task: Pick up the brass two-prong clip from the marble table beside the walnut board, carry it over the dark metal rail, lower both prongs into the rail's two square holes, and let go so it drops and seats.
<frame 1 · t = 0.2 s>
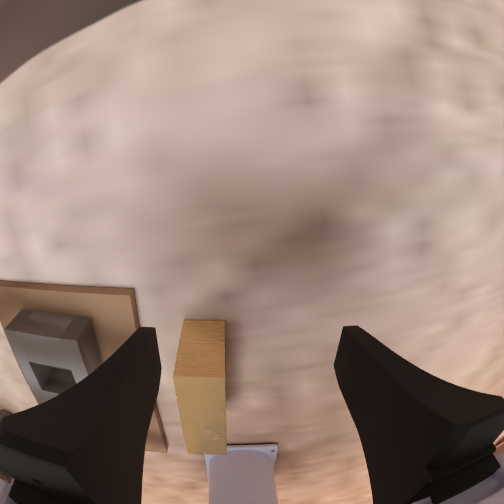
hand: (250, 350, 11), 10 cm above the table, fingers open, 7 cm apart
beverage cup: (13, 420, 27), on the table
rail board: (82, 379, 24), on the table
brass clip: (206, 365, 24), on the table
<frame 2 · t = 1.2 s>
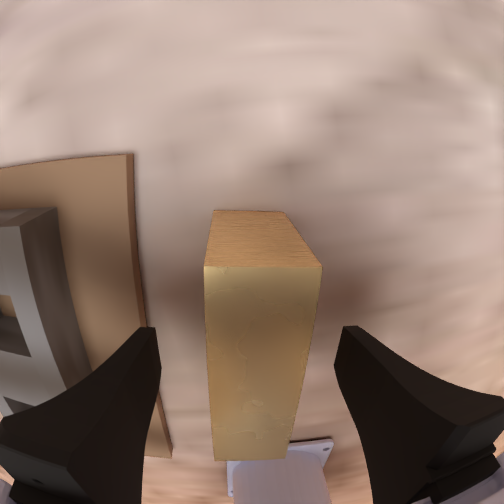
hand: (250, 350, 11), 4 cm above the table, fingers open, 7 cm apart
rail board: (44, 337, 15), on the table
brass clip: (245, 303, 15), on the table
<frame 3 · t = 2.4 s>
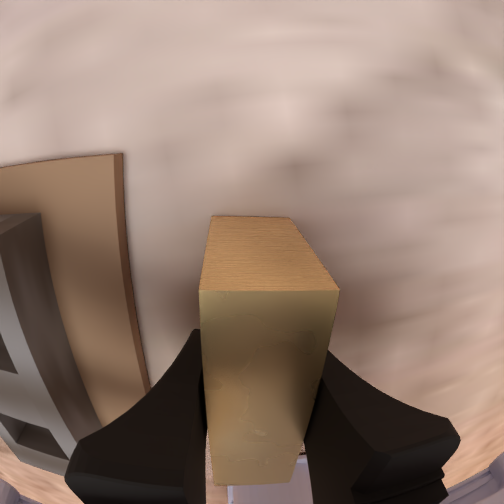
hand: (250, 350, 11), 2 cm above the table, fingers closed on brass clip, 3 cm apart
rail board: (34, 348, 14), on the table
brass clip: (246, 316, 14), on the table, touching gripper
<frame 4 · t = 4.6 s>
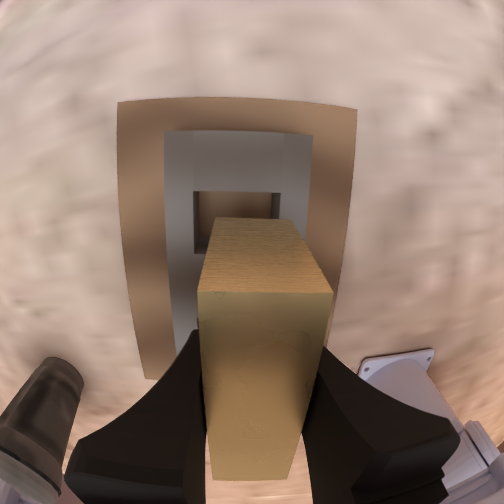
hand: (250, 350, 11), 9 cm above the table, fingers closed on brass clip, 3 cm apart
beverage cup: (63, 374, 23), on the table
rail board: (233, 259, 20), on the table
brass clip: (248, 315, 14), point 7 cm above the table, touching gripper
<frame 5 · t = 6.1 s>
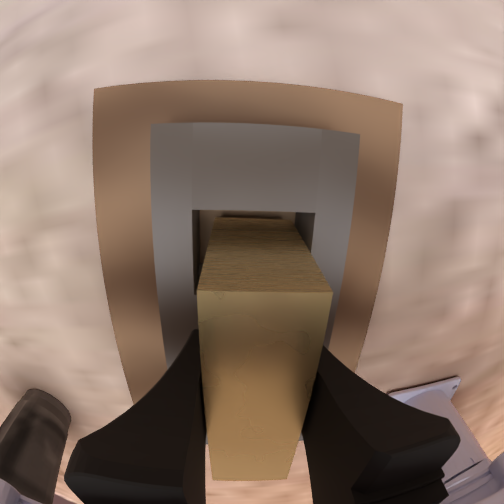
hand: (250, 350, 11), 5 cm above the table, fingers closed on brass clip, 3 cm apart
beverage cup: (48, 406, 19), on the table
rail board: (243, 290, 16), on the table
brass clip: (248, 315, 14), point 2 cm above the table, touching gripper
when the fingers open (5 cm above the table, at t = 7.1 s): brass clip drops 1 cm, resting on rail board.
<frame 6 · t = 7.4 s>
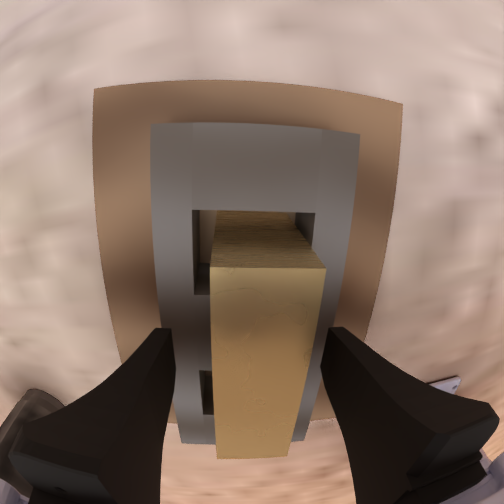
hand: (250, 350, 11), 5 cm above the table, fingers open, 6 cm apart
beverage cup: (48, 406, 19), on the table
rail board: (243, 290, 16), on the table
brass clip: (247, 302, 15), point 1 cm above the table, touching rail board
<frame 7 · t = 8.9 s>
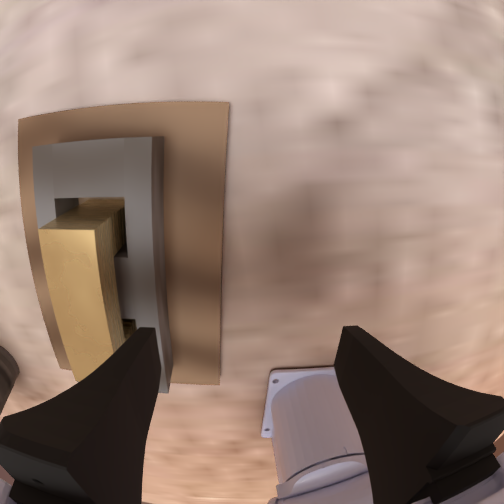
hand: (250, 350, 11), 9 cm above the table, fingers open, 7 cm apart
beverage cup: (3, 359, 22), on the table
rail board: (118, 260, 19), on the table
brass clip: (115, 268, 19), point 1 cm above the table, touching rail board
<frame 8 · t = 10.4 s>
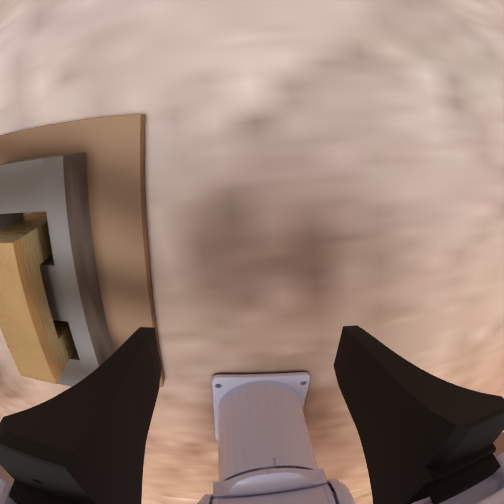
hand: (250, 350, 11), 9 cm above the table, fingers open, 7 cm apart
rail board: (61, 267, 19), on the table
brass clip: (57, 274, 18), point 1 cm above the table, touching rail board
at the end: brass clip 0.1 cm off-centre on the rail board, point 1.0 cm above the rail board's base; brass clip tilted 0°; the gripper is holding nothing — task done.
